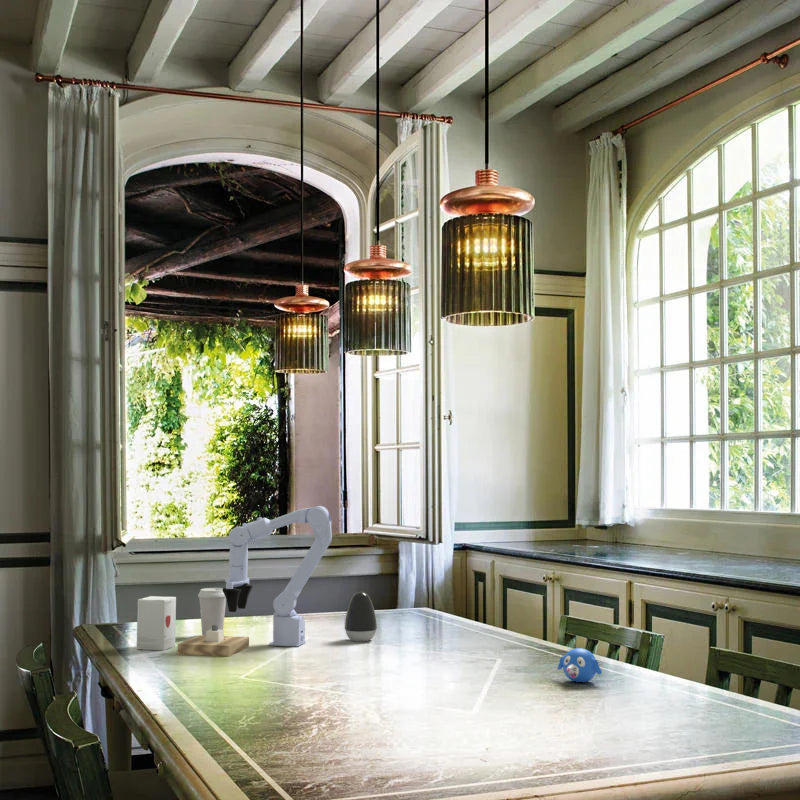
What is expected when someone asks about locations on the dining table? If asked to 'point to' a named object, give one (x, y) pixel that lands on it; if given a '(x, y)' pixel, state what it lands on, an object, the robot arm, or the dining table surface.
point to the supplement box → (156, 623)
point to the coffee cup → (212, 608)
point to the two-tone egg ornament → (360, 618)
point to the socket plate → (213, 646)
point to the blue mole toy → (579, 665)
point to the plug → (214, 634)
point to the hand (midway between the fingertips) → (237, 610)
